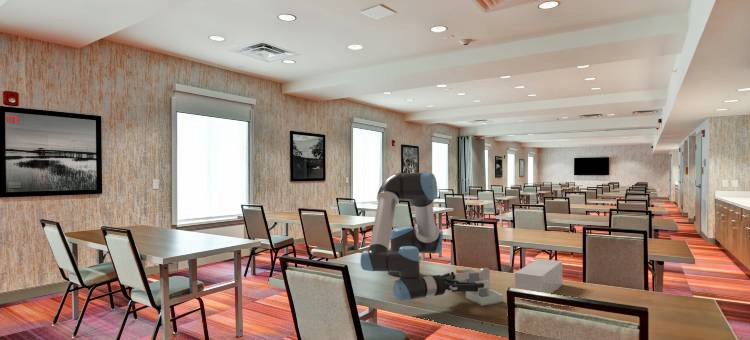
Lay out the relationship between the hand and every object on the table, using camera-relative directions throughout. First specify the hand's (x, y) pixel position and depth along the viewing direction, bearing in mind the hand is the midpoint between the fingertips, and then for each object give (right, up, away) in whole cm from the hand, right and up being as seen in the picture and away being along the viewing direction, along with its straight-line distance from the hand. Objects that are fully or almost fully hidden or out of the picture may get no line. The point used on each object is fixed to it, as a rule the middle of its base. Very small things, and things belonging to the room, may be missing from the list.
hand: (478, 279), depth 174 cm
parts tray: (+3, -9, +1) cm, 9 cm away
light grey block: (+30, -9, +13) cm, 34 cm away
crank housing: (-1, -9, +16) cm, 18 cm away
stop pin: (+3, -8, +1) cm, 9 cm away
